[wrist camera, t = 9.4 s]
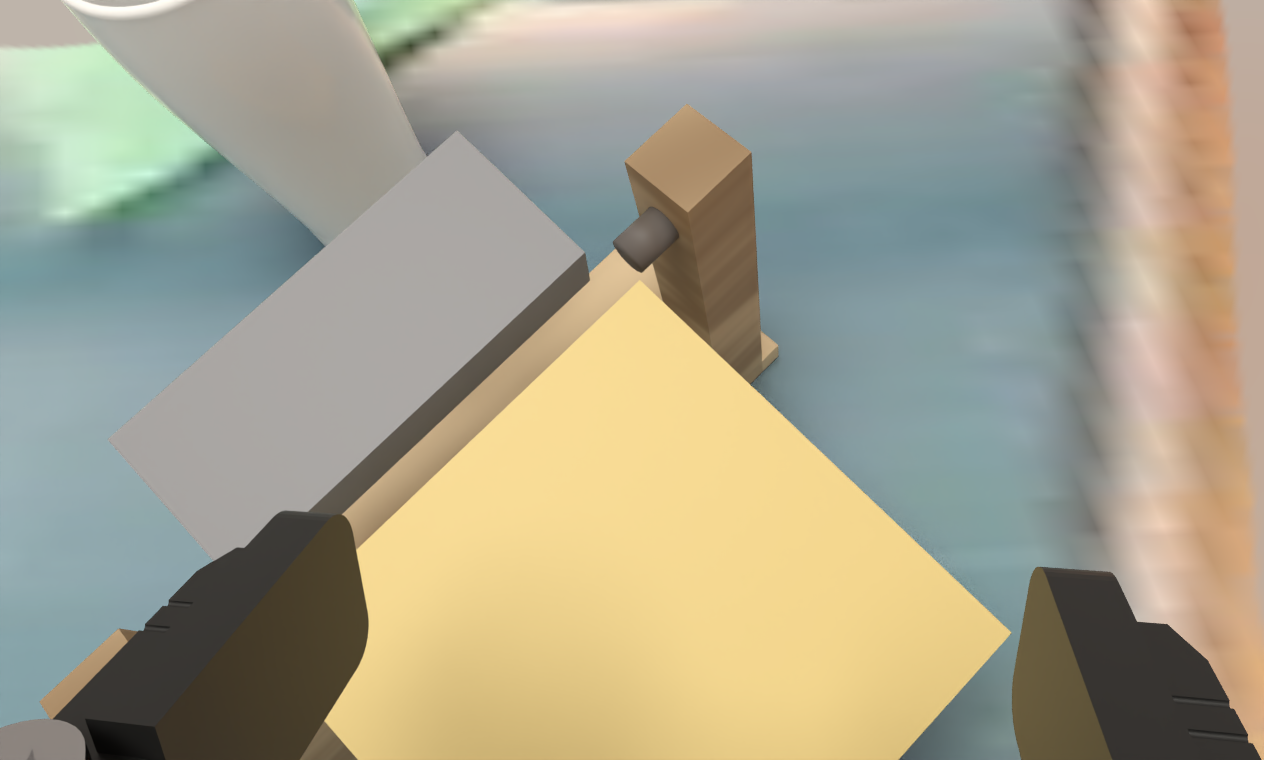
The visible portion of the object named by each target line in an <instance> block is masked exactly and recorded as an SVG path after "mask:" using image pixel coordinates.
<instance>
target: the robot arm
mask: <svg viewBox="0 0 1264 760" xmlns="http://www.w3.org/2000/svg"><path fill="white" fill-rule="evenodd" d="M368 629H369V618H368V611H367V605H366V600H365V595H364V589H363V584H362V578H361V573H360V568H359V562H358V557H357V552H356V546H355V541H354V536H353V531H352V527H351V525H350V522H349V521H348V519H347V518H346V517H345V516H344V515H342V514H329V513H315V512H301V511H287V510H285V511H281V512H279V513H277V514H276V515H275V516H274V517H273V518H272V519H271V520H270V521H269V522H268V523H267V524H266V525H265V527H264V528H263V529H262V530H261V531H260V532H259V533H258V534H257V535H256V536H255V537H254V538H253V539H252V540H251V541H250V543H249V544H248V545H247V546H246V547H245V548H240V547H237V548H235V549H233V550H232V551H230V552H228V553H226V554H225V555H223V556H221V557H220V558H218V559H216V560H215V561H213V562H211V563H210V564H208V565H206V566H205V567H203V568H201V569H200V570H198V571H197V572H196V573H195V574H194V575H193V576H192V577H191V578H190V579H189V580H188V581H187V582H186V583H185V584H184V585H183V586H182V587H181V588H180V589H179V590H178V591H177V592H176V593H175V594H174V595H173V596H172V597H171V598H170V599H169V604H168V606H162V607H161V608H160V610H159V611H158V612H157V613H156V614H155V615H154V616H153V617H152V618H151V619H150V620H149V621H148V622H147V623H146V624H145V629H144V631H138V632H137V633H136V634H135V635H134V636H133V637H132V638H131V639H130V640H129V641H128V642H127V643H126V644H125V645H124V646H123V647H122V648H121V649H120V650H119V651H118V652H117V653H116V655H115V656H114V657H113V658H112V659H111V660H110V661H109V662H108V663H107V664H106V665H105V666H104V667H103V668H102V669H101V670H100V671H99V672H98V673H97V674H96V675H95V676H94V677H93V678H92V679H91V680H90V681H89V682H88V683H87V684H86V685H85V686H84V687H83V688H82V689H81V690H80V691H79V692H78V693H77V694H76V695H75V696H74V697H73V698H72V700H71V701H70V702H69V703H68V704H67V705H66V706H65V707H64V708H63V709H62V710H61V711H60V712H59V713H58V714H57V715H56V716H55V717H54V718H53V719H37V720H29V721H23V722H19V723H15V724H11V725H8V726H5V727H2V728H0V760H300V759H301V757H302V756H303V754H304V752H305V751H306V749H307V748H308V746H309V744H310V743H311V741H312V740H313V738H314V737H315V735H316V733H317V732H318V730H319V729H320V727H321V725H322V724H323V722H324V721H325V719H326V717H327V716H328V714H329V713H330V711H331V709H332V708H333V706H334V705H335V703H336V701H337V700H338V698H339V697H340V695H341V694H342V692H343V690H344V689H345V687H346V686H347V684H348V682H349V681H350V679H351V678H352V676H353V674H354V673H355V671H356V670H357V668H358V666H359V664H360V662H361V660H362V657H363V654H364V652H365V648H366V644H367V638H368ZM1012 712H1013V723H1014V730H1015V735H1016V740H1017V744H1018V748H1019V752H1020V756H1021V760H1261V758H1260V756H1259V754H1258V752H1257V750H1256V749H1255V747H1254V745H1253V744H1251V743H1248V734H1247V732H1246V730H1245V728H1244V727H1243V725H1242V723H1241V721H1240V719H1239V717H1238V715H1237V714H1236V712H1235V710H1234V709H1230V706H1229V699H1228V697H1227V695H1226V693H1225V691H1224V690H1223V688H1222V686H1221V684H1220V682H1219V680H1218V679H1217V677H1216V675H1215V673H1214V671H1213V669H1212V668H1211V666H1210V664H1209V662H1208V660H1207V659H1206V658H1204V657H1203V656H1202V655H1201V654H1200V653H1199V652H1198V651H1197V650H1195V649H1194V648H1193V647H1192V646H1191V645H1190V644H1189V643H1188V642H1187V641H1185V640H1184V639H1183V638H1182V637H1181V636H1180V635H1179V634H1178V633H1176V632H1175V631H1174V630H1173V629H1172V628H1171V627H1170V626H1169V625H1168V624H1157V623H1145V622H1137V621H1136V619H1135V617H1134V614H1133V612H1132V610H1131V608H1130V606H1129V604H1128V602H1127V599H1126V597H1125V595H1124V593H1123V591H1122V589H1121V587H1120V585H1119V582H1118V580H1117V579H1116V577H1115V576H1114V575H1113V574H1112V573H1111V572H1103V571H1089V570H1075V569H1061V568H1048V567H1037V568H1035V570H1034V571H1033V573H1032V576H1031V579H1030V584H1029V589H1028V595H1027V601H1026V606H1025V612H1024V618H1023V624H1022V629H1021V635H1020V641H1019V647H1018V652H1017V658H1016V664H1015V670H1014V676H1013V685H1012Z"/></svg>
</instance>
